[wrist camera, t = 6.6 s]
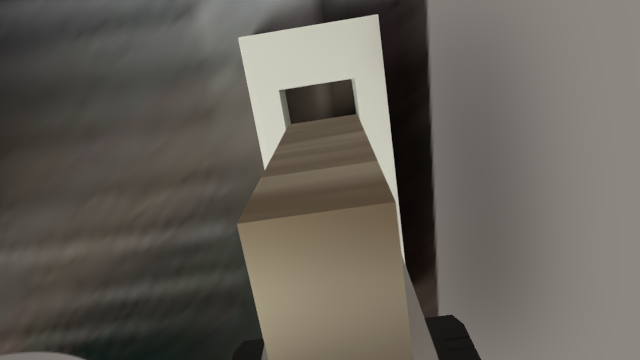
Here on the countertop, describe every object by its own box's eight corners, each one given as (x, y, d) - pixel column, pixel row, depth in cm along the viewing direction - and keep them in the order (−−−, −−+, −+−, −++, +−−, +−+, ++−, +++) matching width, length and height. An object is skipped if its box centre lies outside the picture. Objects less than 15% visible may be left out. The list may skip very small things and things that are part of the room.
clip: (288, 124, 19) (236, 223, 8) (357, 114, 18) (395, 201, 8) (329, 353, 22) (330, 631, 12) (387, 346, 22) (442, 623, 11)
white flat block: (248, 38, 28) (238, 37, 24) (371, 18, 27) (378, 14, 24) (300, 304, 34) (297, 332, 30) (402, 291, 33) (411, 318, 30)
